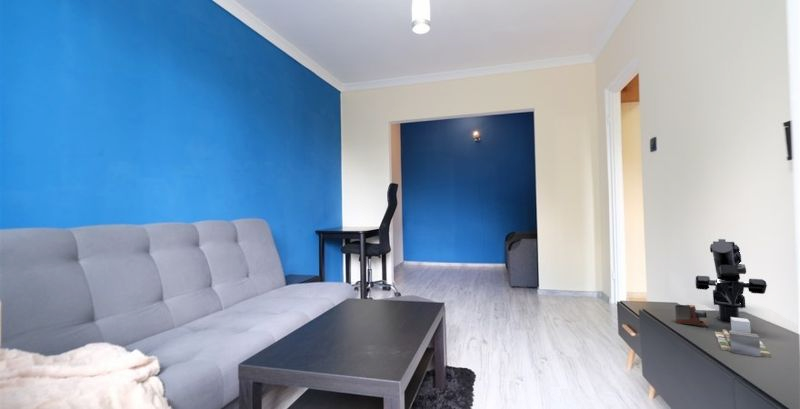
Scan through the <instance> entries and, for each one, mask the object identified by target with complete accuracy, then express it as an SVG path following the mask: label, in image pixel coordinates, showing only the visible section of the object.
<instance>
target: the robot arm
mask: <svg viewBox="0 0 800 409" xmlns="http://www.w3.org/2000/svg"><path fill="white" fill-rule="evenodd" d="M740 250H741V249H740V247H739V246H738V244H736V243H735V241H726V239H723V238H720V239H719V238H718V241H712V243H711V244H710V247H709V251H710V253H712V256H713V262H714V266H715V268H714V269H715V273H716V278H717V279H716V280H712V279H710V276H708V275H697V276H695V282H694V283H695V288H696V289H697V290H706V291H707V290H709V289H710V286H711V287H714V288H715V289H712V299H713V305H714V306H715V305H716V306H718V311H719V315H716V316H715V318H716V319H718V320H719V321H720V322H721V323H730V324H731V318H730V317H735V318H740V310H739V309H744V308H746V297H745V296H744V295H743V294H744V292H745V290H744V289H748V292H750V293H751V294H759V295H763V294H766V290H767V286H768V284H767V282H766V280H764V279H762V278H760V279H759V278H749V279H748V281H739V280H741V275H746V274H747V268H746V264H743V263H742V264H739V263H740V262H742V254H740V252H741V251H740ZM739 251H740V252H739Z"/></svg>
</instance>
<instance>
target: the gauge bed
mask: <svg viewBox="0 0 800 409" xmlns="http://www.w3.org/2000/svg"><path fill="white" fill-rule="evenodd" d="M721 331H722V332H720V331H714V336H715V338H716V340H717V342H718V345H719V347H720V349H721V350H722V349H723V350H722V351H727V350H728V352H731V353H734V354H741V355H747V356H754V357H758V358H760V357H767V358H772V357H771V356H772V354H771V353H770V351H769V350H768V349H767V347H766V346H765V345H764V344H763V341H761V339H760V336H759V334H757V333H743V332H735V331H731V330H727V329H724V328H722V329H721ZM718 336H722V337H729V338H730V339H728V338H721V337H718Z"/></svg>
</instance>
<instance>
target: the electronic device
mask: <svg viewBox="0 0 800 409" xmlns="http://www.w3.org/2000/svg"><path fill="white" fill-rule="evenodd" d="M674 308H675V323H676V324H681V325H686V324H687V326H688V325H689V326H694V325H695V327H700V328H701V327H702V328H703V327H708V325H709V322H708V321H704V320H700V318H701V319H704V318H707V312H706V311H699V310H697V308H696V306H695V305H692V304H676V305H675V307H674Z"/></svg>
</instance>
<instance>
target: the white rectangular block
mask: <svg viewBox="0 0 800 409" xmlns="http://www.w3.org/2000/svg"><path fill="white" fill-rule="evenodd" d="M730 318H731V323H730V327H731V328H730V331H735V332H743V333H751V321H750V320H749V319H748V318H741V317H739V318H735V317H730ZM751 334H752V333H751ZM718 337H721V338H728V339H730V338H729V337H722V336H718Z"/></svg>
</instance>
